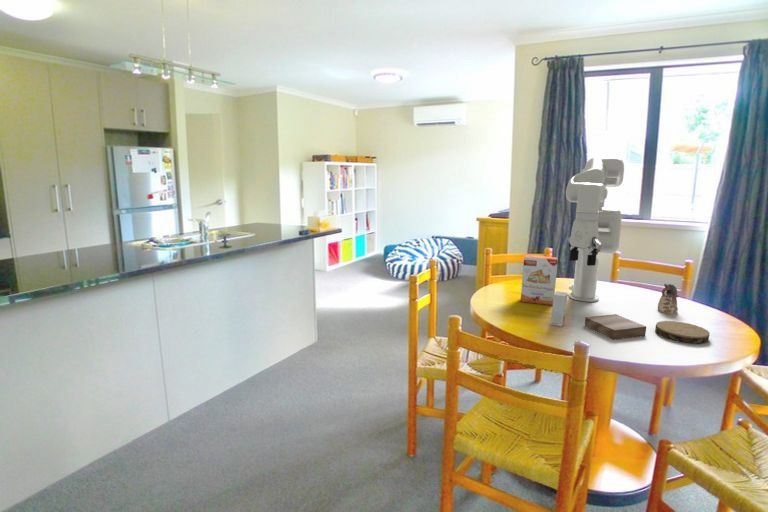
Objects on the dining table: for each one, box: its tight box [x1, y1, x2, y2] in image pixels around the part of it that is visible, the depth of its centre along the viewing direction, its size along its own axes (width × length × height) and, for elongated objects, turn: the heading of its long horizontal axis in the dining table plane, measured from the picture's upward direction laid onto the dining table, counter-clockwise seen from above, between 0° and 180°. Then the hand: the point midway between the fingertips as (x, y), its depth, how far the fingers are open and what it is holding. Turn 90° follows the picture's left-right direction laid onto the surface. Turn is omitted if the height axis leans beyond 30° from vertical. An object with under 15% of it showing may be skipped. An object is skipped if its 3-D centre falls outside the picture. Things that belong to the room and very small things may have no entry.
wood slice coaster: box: [654, 320, 710, 345], centre depth 153 cm, size 16×16×3 cm
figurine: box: [657, 283, 680, 315], centre depth 180 cm, size 7×7×12 cm
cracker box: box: [520, 254, 559, 306], centre depth 190 cm, size 14×6×21 cm, turn 68°
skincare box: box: [550, 291, 569, 327], centre depth 164 cm, size 6×4×12 cm
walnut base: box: [584, 313, 647, 341], centre depth 157 cm, size 14×14×4 cm
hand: (582, 262), depth 161 cm, fingers open, 9 cm apart
